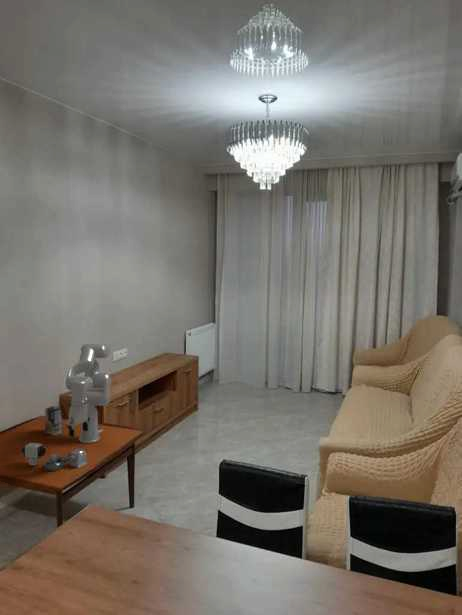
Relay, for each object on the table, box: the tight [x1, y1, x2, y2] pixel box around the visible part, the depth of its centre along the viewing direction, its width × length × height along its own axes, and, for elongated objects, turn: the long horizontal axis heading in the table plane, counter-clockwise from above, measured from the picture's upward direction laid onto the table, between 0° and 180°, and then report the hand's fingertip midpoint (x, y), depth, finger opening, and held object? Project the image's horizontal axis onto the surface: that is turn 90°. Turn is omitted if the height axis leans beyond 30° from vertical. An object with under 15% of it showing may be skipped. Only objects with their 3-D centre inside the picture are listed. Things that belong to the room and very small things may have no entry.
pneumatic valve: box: [21, 442, 47, 466], centre depth 254 cm, size 6×12×12 cm, turn 78°
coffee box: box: [45, 405, 63, 436], centre depth 297 cm, size 9×6×16 cm
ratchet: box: [44, 453, 70, 473], centre depth 257 cm, size 22×9×7 cm, turn 152°
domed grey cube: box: [69, 448, 88, 469], centre depth 256 cm, size 6×6×8 cm
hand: (78, 433), depth 254 cm, fingers open, 9 cm apart
